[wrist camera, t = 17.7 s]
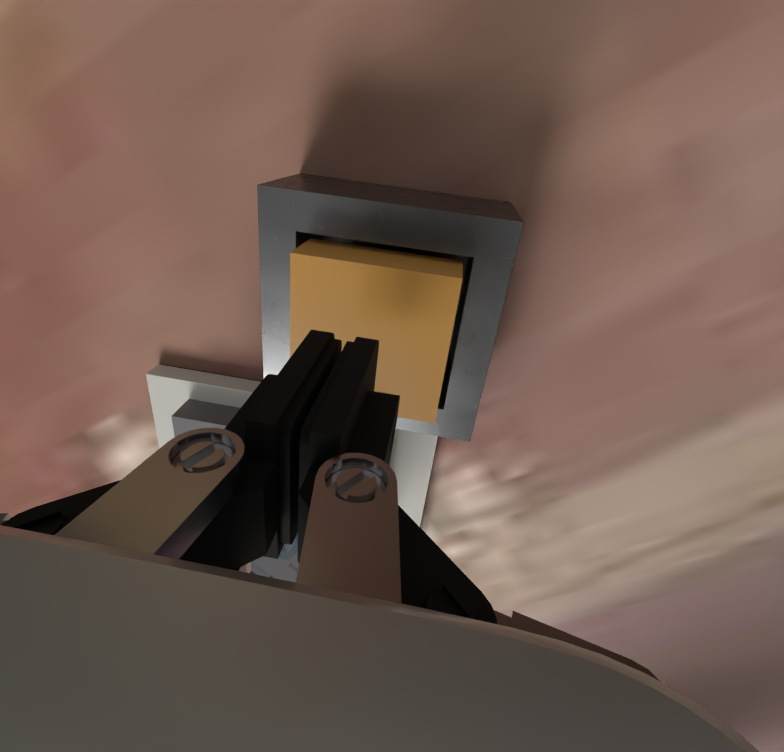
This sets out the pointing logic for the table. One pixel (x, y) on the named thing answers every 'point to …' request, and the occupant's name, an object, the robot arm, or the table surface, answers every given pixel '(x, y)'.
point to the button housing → (405, 234)
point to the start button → (381, 312)
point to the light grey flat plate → (228, 394)
